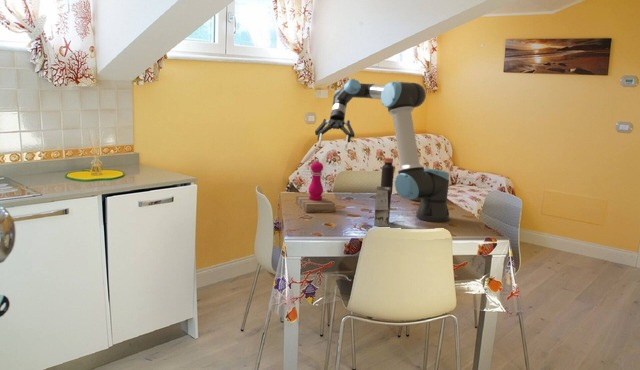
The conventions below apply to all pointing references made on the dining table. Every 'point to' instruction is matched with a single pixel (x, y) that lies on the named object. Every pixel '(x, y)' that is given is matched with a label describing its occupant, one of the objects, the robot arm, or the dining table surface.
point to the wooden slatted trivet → (315, 204)
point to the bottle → (387, 173)
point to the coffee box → (382, 206)
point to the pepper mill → (316, 181)
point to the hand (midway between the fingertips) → (332, 145)
